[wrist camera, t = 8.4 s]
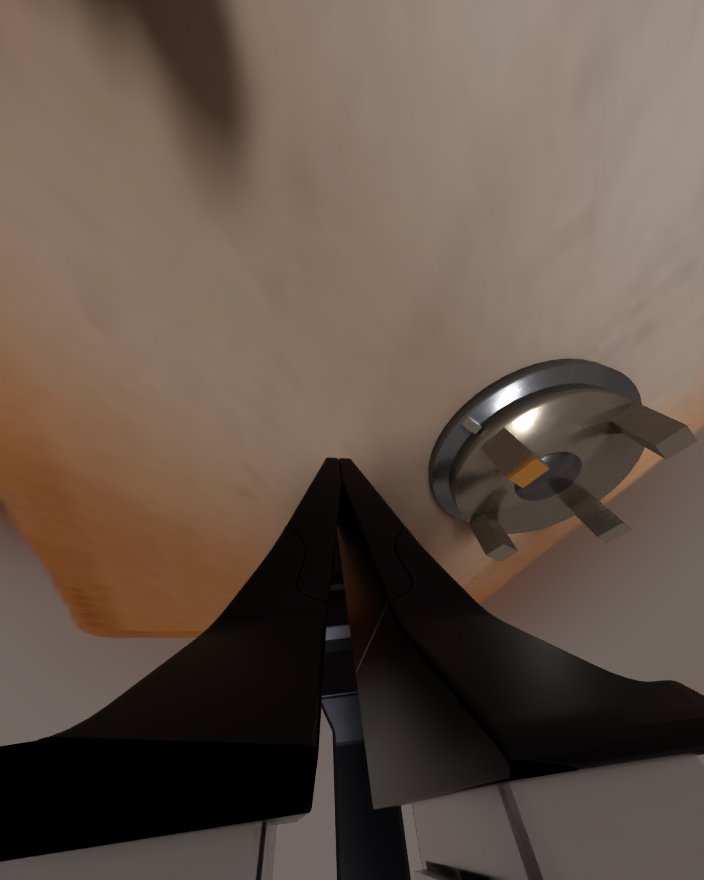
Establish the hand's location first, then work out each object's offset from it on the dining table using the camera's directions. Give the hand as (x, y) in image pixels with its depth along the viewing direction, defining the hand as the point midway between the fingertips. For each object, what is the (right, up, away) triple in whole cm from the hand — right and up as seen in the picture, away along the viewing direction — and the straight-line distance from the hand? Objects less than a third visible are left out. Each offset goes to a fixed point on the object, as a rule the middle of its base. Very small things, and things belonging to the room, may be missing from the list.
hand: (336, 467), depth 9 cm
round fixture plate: (+19, -1, +17) cm, 25 cm away
